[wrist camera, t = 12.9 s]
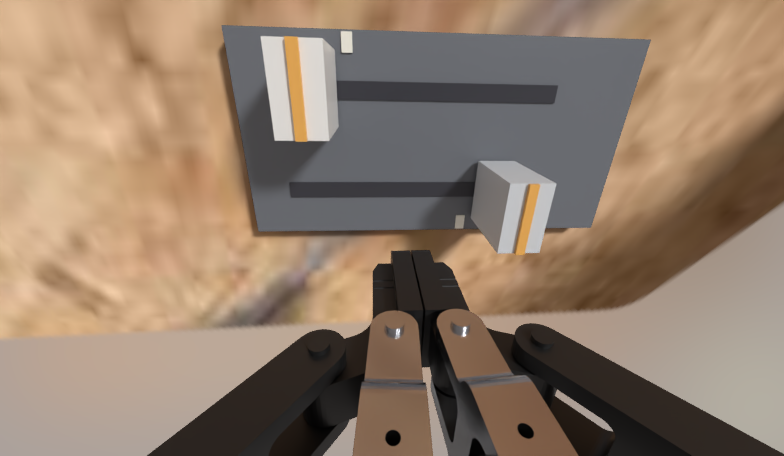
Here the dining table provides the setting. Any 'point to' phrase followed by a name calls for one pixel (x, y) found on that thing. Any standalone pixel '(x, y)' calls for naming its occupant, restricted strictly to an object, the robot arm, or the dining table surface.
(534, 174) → the grey fader
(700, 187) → the dining table surface
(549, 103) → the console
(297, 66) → the white fader
